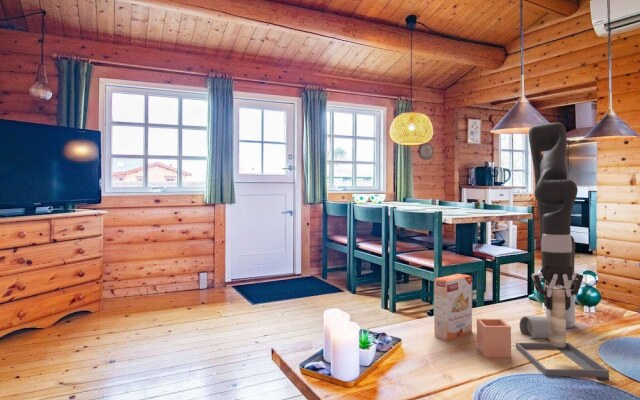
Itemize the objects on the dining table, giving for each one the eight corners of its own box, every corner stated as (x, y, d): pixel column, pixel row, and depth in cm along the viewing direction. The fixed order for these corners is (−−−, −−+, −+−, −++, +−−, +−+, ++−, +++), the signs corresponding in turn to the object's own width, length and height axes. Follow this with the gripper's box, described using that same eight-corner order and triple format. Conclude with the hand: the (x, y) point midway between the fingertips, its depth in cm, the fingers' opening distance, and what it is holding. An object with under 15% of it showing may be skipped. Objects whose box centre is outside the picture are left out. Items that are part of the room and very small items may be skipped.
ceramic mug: (555, 341, 136) (555, 318, 136) (533, 343, 135) (532, 319, 135) (534, 331, 146) (533, 309, 146) (513, 333, 145) (512, 311, 145)
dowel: (547, 341, 120) (546, 287, 120) (561, 342, 120) (560, 287, 120) (554, 347, 116) (553, 290, 116) (568, 347, 116) (568, 290, 116)
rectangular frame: (515, 350, 129) (515, 342, 129) (569, 350, 128) (568, 342, 128) (545, 379, 109) (545, 369, 109) (609, 380, 108) (608, 370, 108)
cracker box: (448, 344, 136) (447, 280, 135) (433, 339, 140) (432, 278, 140) (473, 334, 144) (472, 275, 144) (458, 330, 149) (457, 272, 148)
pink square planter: (477, 350, 130) (476, 318, 130) (502, 350, 129) (501, 318, 129) (484, 360, 122) (484, 326, 122) (511, 360, 122) (510, 326, 121)
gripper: (575, 247, 121) (576, 305, 121) (525, 248, 122) (526, 305, 122) (590, 251, 114) (590, 313, 114) (536, 251, 115) (537, 313, 115)
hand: (557, 308), depth 118 cm, fingers closed on dowel, 4 cm apart
